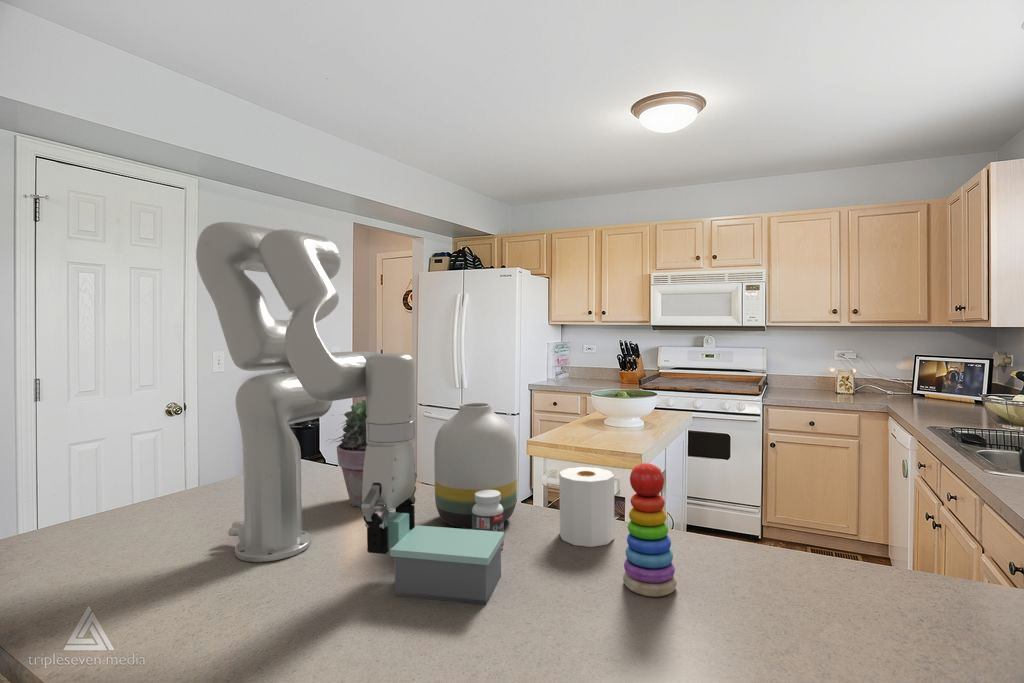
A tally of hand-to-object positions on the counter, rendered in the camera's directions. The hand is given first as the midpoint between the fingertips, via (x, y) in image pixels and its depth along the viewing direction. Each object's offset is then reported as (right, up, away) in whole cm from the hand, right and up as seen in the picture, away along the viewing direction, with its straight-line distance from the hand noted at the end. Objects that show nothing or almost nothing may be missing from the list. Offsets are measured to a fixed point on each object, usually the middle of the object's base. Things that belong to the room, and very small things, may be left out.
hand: (392, 540), depth 84 cm
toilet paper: (+33, -6, +17) cm, 38 cm away
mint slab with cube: (+7, 0, -2) cm, 8 cm away
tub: (+9, -6, -2) cm, 11 cm away
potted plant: (-14, -6, +39) cm, 42 cm away
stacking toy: (+40, -6, -3) cm, 40 cm away
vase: (+11, -6, +26) cm, 29 cm away
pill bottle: (+14, -6, +12) cm, 20 cm away
